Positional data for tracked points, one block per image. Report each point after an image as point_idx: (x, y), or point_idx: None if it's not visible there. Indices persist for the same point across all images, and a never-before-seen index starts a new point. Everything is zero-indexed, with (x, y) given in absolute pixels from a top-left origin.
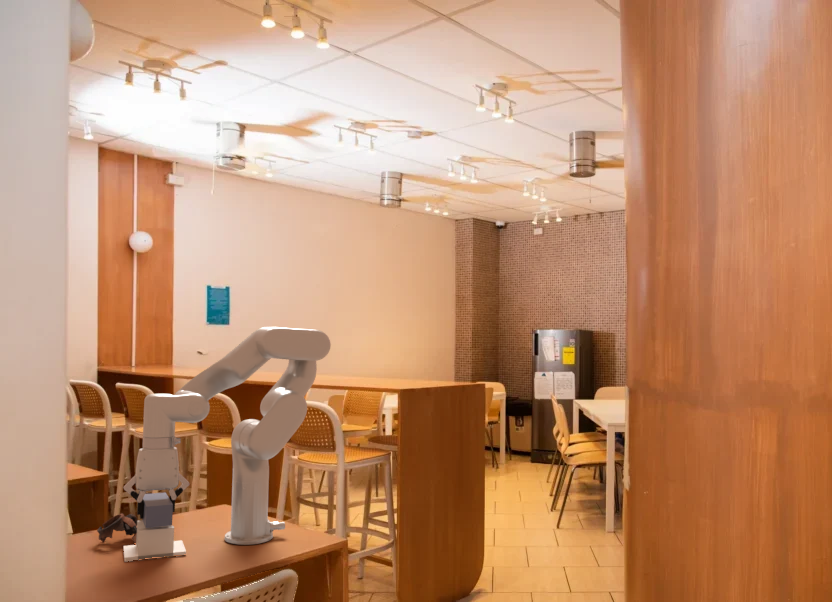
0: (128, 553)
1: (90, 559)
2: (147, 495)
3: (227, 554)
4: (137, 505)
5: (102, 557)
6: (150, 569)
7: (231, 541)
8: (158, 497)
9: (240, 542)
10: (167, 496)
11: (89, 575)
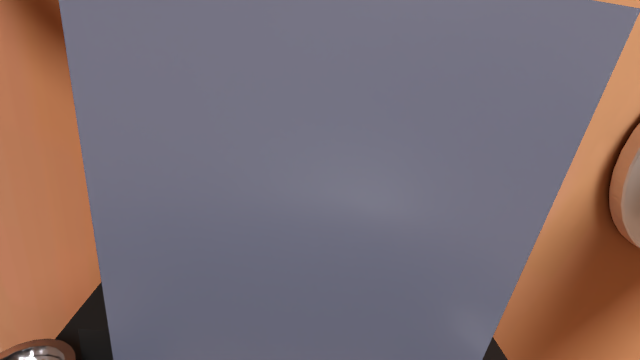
0: None
1: (8, 125)
2: (203, 133)
3: (518, 301)
4: (79, 313)
5: (63, 121)
6: None
7: (615, 209)
8: (350, 345)
9: (629, 240)
10: (482, 341)
11: (42, 310)
